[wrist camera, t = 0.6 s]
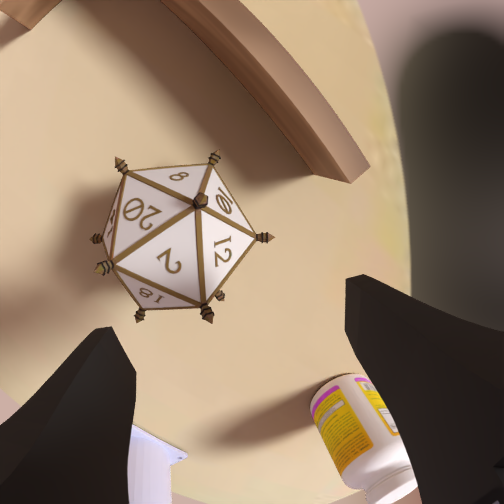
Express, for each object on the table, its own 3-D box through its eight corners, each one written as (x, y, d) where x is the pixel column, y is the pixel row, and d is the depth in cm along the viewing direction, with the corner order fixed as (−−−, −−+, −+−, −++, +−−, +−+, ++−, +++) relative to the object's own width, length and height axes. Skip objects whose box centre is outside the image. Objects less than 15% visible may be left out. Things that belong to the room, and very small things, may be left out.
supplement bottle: (306, 423, 27) (350, 523, 15) (309, 380, 25) (368, 497, 13) (363, 406, 28) (418, 492, 16) (373, 362, 26) (446, 457, 14)
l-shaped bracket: (226, 248, 20) (237, 282, 15) (23, 21, 11) (-12, -2, 6) (330, 161, 19) (372, 166, 14) (120, -57, 10) (108, -95, 6)
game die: (157, 221, 22) (39, 263, 13) (209, 121, 17) (65, 117, 9) (243, 306, 21) (141, 397, 12) (322, 213, 16) (226, 287, 8)
